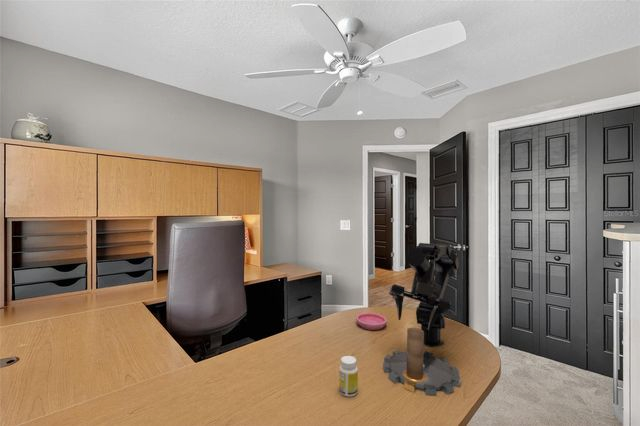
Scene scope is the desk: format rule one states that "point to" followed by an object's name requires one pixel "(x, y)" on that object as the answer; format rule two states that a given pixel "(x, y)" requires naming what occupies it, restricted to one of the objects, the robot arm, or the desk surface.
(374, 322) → the saucer
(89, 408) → the desk surface
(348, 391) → the supplement bottle
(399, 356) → the sprocket plate
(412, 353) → the pin
